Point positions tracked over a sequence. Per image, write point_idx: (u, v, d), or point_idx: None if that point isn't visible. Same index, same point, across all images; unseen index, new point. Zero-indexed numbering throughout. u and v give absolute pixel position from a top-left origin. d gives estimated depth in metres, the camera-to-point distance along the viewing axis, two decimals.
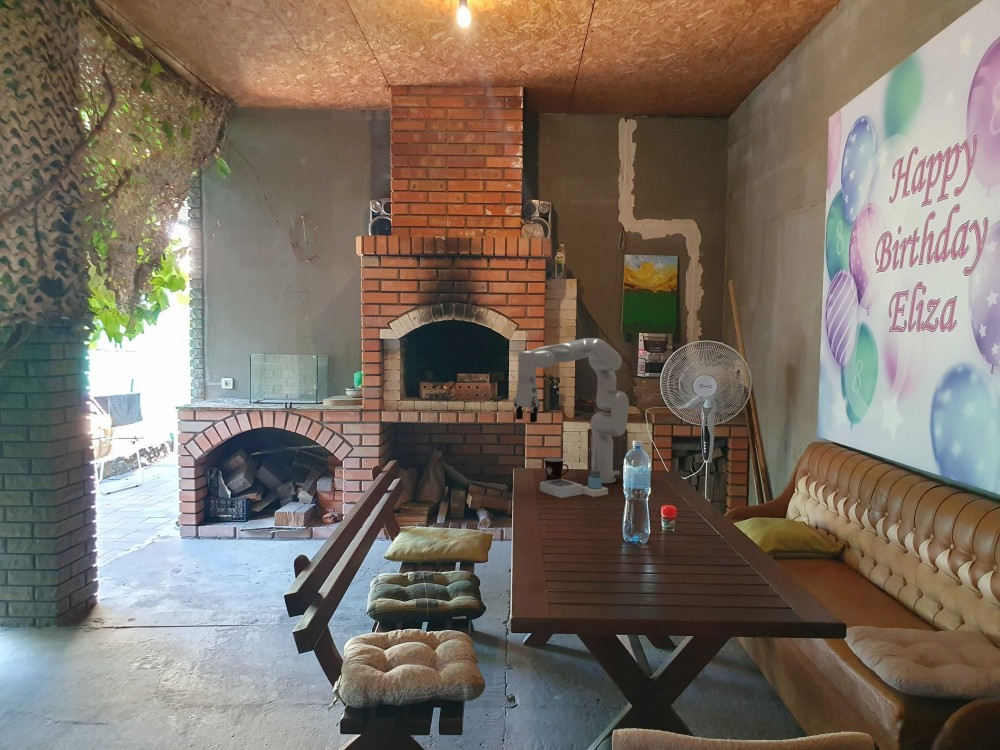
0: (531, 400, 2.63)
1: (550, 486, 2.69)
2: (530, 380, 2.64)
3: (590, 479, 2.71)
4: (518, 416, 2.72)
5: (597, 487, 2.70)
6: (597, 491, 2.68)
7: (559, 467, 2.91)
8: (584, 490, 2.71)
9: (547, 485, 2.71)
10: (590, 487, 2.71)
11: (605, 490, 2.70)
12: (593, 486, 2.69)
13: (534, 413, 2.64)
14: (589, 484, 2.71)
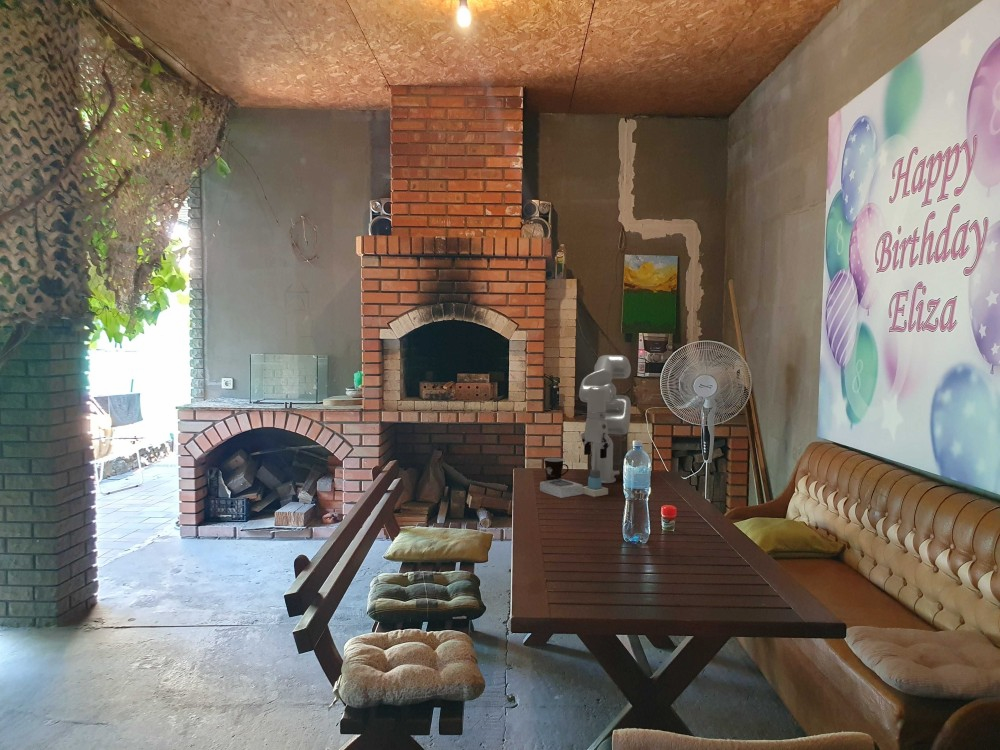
0: (601, 436, 2.65)
1: (550, 486, 2.69)
2: (600, 416, 2.66)
3: (590, 479, 2.71)
4: (586, 451, 2.74)
5: (597, 487, 2.70)
6: (597, 491, 2.68)
7: (559, 467, 2.91)
8: (584, 490, 2.71)
9: (547, 485, 2.71)
10: (590, 487, 2.71)
11: (605, 490, 2.70)
12: (593, 486, 2.69)
13: (604, 449, 2.66)
14: (589, 484, 2.71)
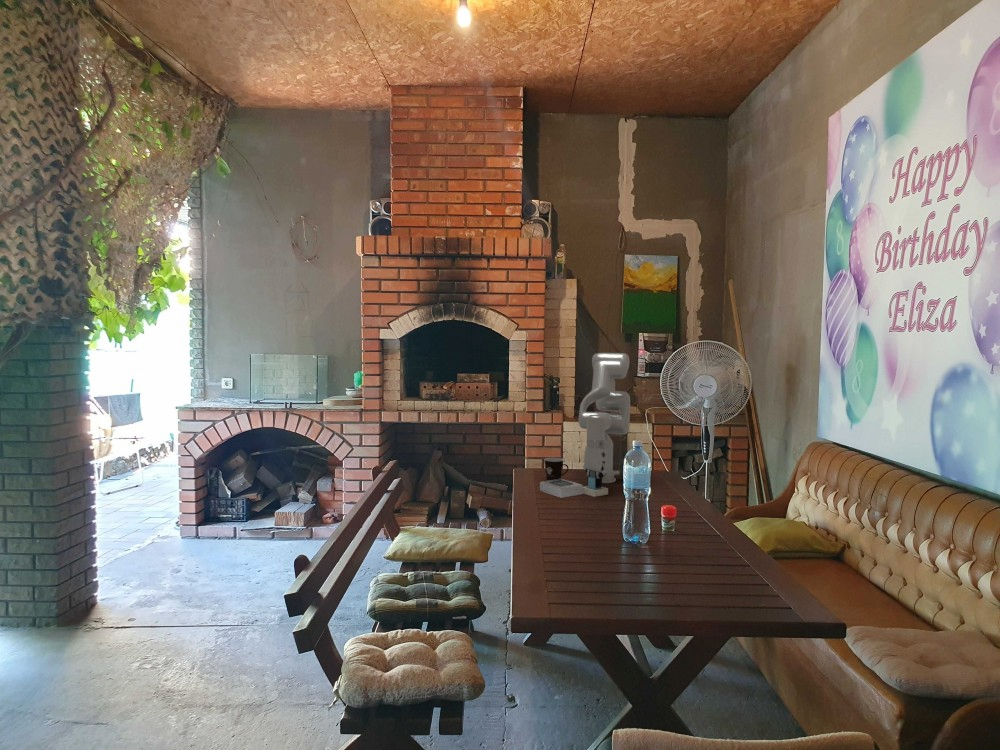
0: (601, 465, 2.67)
1: (550, 486, 2.69)
2: (600, 445, 2.67)
3: (590, 479, 2.71)
4: None
5: None
6: (597, 491, 2.68)
7: (559, 467, 2.91)
8: (584, 490, 2.71)
9: (547, 485, 2.71)
10: (590, 487, 2.71)
11: (605, 490, 2.70)
12: (593, 486, 2.69)
13: (599, 479, 2.69)
14: (589, 484, 2.71)
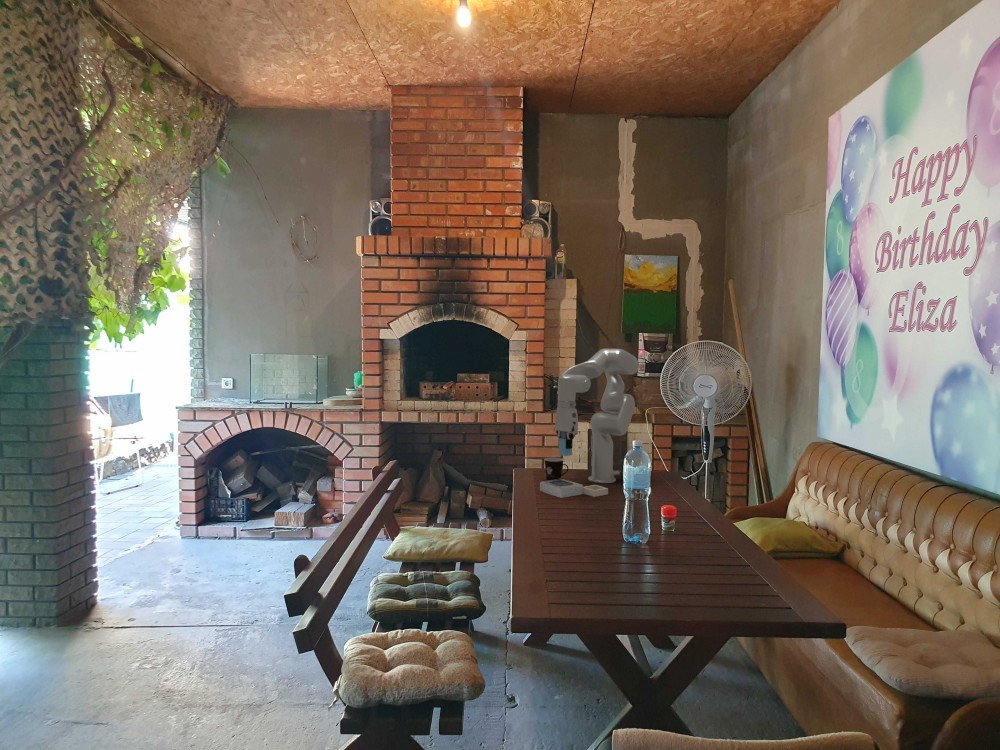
0: (571, 425, 2.66)
1: (550, 486, 2.69)
2: (570, 405, 2.67)
3: (561, 440, 2.71)
4: None
5: None
6: (597, 491, 2.68)
7: (559, 467, 2.91)
8: (584, 490, 2.71)
9: (547, 485, 2.71)
10: (561, 448, 2.71)
11: (605, 490, 2.70)
12: (564, 447, 2.69)
13: (570, 440, 2.68)
14: (560, 445, 2.71)
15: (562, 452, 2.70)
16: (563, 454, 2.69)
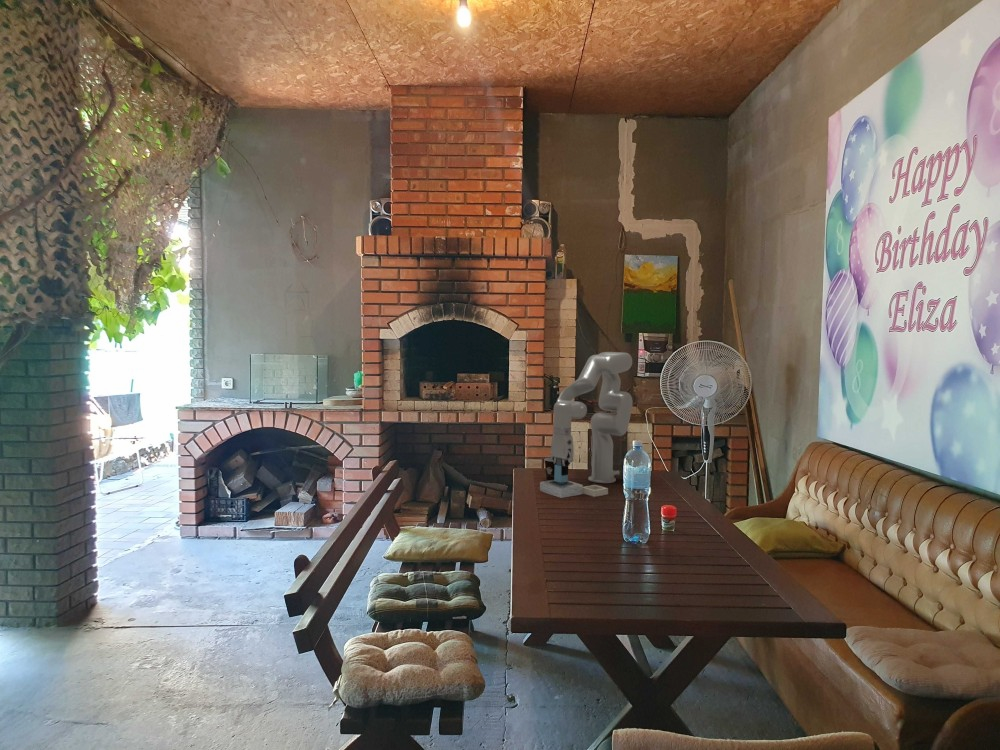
0: (567, 452, 2.67)
1: (550, 486, 2.69)
2: (566, 432, 2.68)
3: (556, 467, 2.72)
4: None
5: None
6: (597, 491, 2.68)
7: None
8: (584, 490, 2.71)
9: (547, 485, 2.71)
10: (556, 475, 2.72)
11: (605, 490, 2.70)
12: (560, 474, 2.70)
13: (566, 467, 2.69)
14: (556, 472, 2.72)
15: (557, 479, 2.71)
16: (559, 481, 2.71)
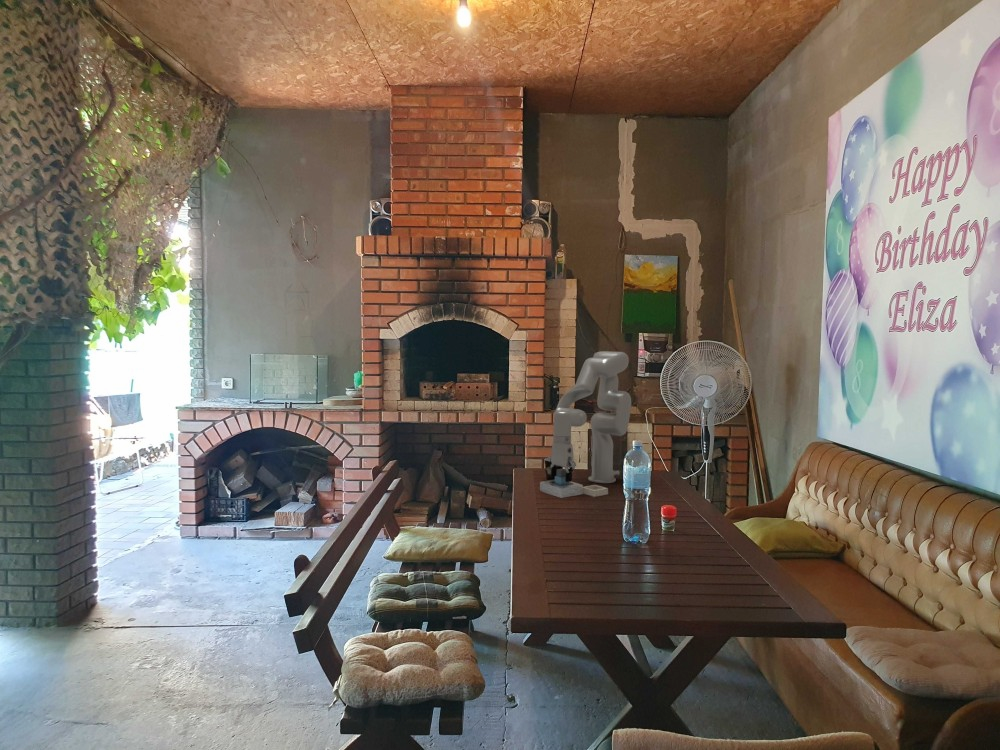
0: (567, 460, 2.67)
1: (550, 486, 2.69)
2: (566, 440, 2.68)
3: (557, 478, 2.72)
4: (553, 474, 2.76)
5: None
6: (597, 491, 2.68)
7: (559, 467, 2.91)
8: (584, 490, 2.71)
9: (547, 485, 2.71)
10: None
11: (605, 490, 2.70)
12: None
13: (569, 473, 2.68)
14: (556, 483, 2.73)
15: None
16: None
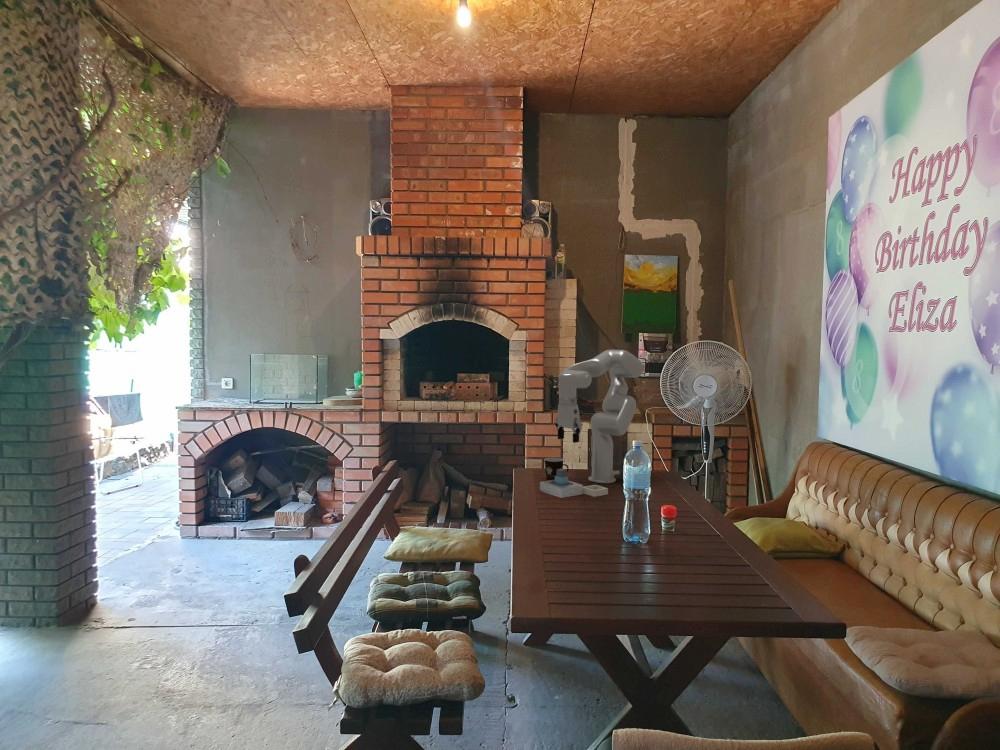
0: (573, 421, 2.70)
1: (550, 486, 2.69)
2: (571, 402, 2.70)
3: (556, 478, 2.72)
4: (560, 436, 2.79)
5: None
6: (597, 491, 2.68)
7: (559, 467, 2.91)
8: (584, 490, 2.71)
9: (547, 485, 2.71)
10: None
11: (605, 490, 2.70)
12: None
13: (576, 434, 2.71)
14: (556, 483, 2.73)
15: None
16: None
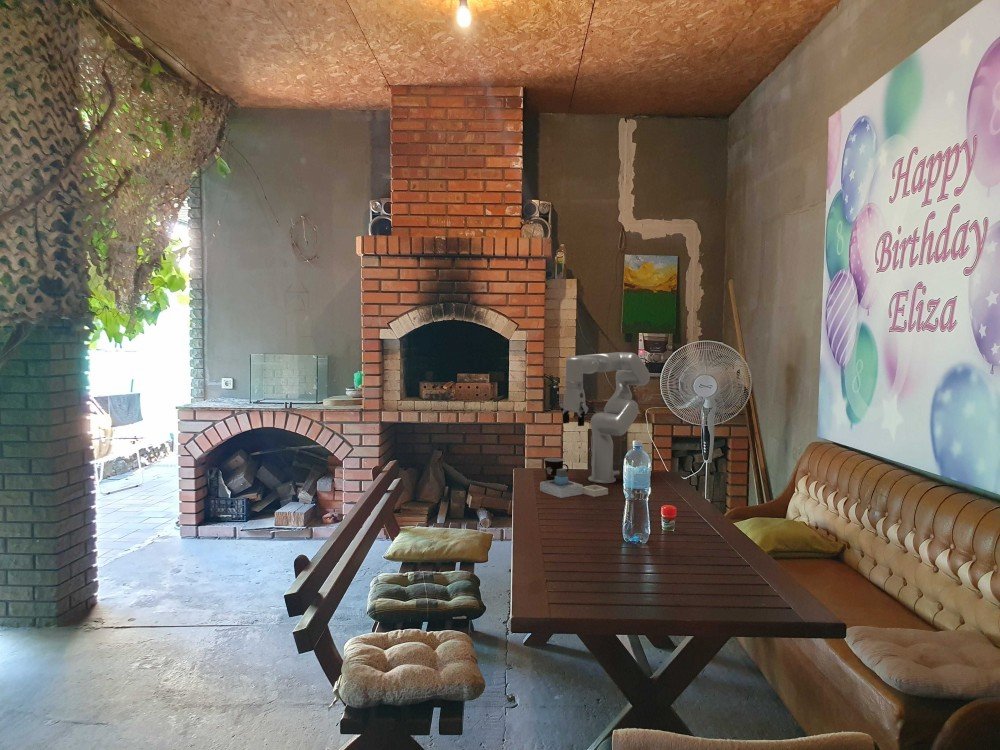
0: (579, 405, 2.74)
1: (550, 486, 2.69)
2: (578, 386, 2.74)
3: (556, 478, 2.72)
4: (565, 420, 2.82)
5: None
6: (597, 491, 2.68)
7: (559, 467, 2.91)
8: (584, 490, 2.71)
9: (547, 485, 2.71)
10: None
11: (605, 490, 2.70)
12: None
13: (582, 417, 2.74)
14: (556, 483, 2.73)
15: None
16: None
